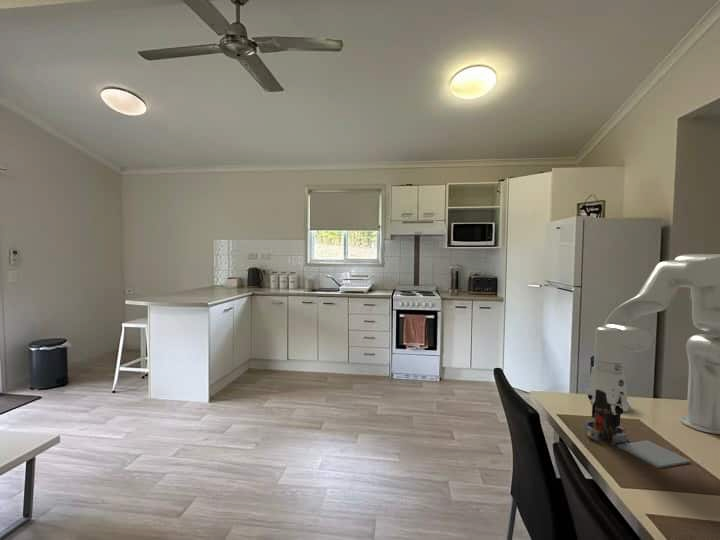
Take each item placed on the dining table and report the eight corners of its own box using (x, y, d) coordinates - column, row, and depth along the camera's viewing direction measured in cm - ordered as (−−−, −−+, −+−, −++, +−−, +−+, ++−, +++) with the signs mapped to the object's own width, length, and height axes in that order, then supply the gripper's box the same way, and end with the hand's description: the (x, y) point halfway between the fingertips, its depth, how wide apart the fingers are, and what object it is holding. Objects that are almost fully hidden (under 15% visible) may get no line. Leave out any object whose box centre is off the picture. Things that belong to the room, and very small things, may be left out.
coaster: (647, 442, 117) (647, 440, 117) (690, 462, 106) (690, 460, 106) (617, 446, 114) (617, 444, 114) (657, 468, 102) (657, 466, 102)
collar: (605, 427, 127) (605, 418, 127) (636, 442, 117) (637, 433, 117) (574, 431, 124) (575, 422, 124) (604, 447, 113) (604, 437, 113)
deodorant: (619, 442, 117) (621, 394, 116) (598, 440, 118) (600, 393, 117) (610, 433, 123) (612, 388, 122) (590, 431, 124) (592, 386, 123)
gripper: (643, 373, 112) (640, 432, 113) (593, 358, 129) (591, 409, 129) (624, 375, 110) (621, 435, 111) (576, 359, 127) (574, 411, 127)
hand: (605, 421), depth 120 cm, fingers closed on deodorant, 5 cm apart
